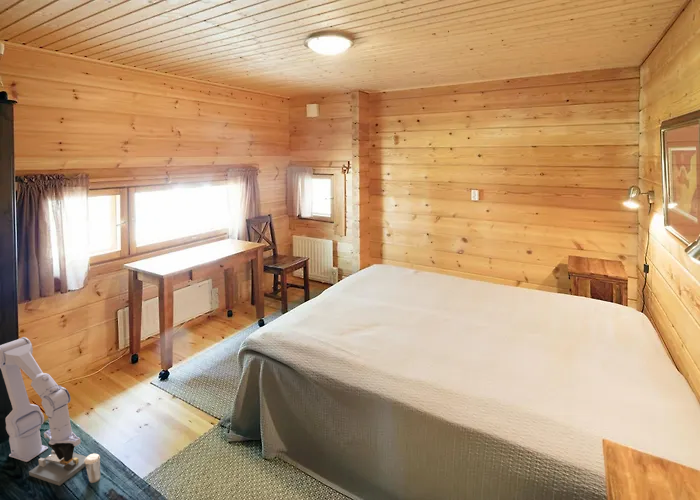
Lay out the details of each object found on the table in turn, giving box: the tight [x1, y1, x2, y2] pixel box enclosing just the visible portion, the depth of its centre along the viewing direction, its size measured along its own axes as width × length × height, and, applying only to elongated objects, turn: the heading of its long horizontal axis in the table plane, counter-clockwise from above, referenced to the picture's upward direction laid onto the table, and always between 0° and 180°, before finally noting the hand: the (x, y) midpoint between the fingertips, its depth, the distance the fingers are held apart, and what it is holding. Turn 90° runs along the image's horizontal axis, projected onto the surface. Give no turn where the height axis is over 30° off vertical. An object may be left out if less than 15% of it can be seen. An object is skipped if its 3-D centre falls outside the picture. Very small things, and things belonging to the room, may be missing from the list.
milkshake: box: [84, 453, 101, 484], centre depth 139 cm, size 4×5×10 cm
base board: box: [28, 449, 87, 487], centre depth 145 cm, size 14×12×4 cm
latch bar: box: [43, 453, 73, 465], centre depth 145 cm, size 10×3×1 cm, turn 71°
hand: (65, 458), depth 143 cm, fingers closed
